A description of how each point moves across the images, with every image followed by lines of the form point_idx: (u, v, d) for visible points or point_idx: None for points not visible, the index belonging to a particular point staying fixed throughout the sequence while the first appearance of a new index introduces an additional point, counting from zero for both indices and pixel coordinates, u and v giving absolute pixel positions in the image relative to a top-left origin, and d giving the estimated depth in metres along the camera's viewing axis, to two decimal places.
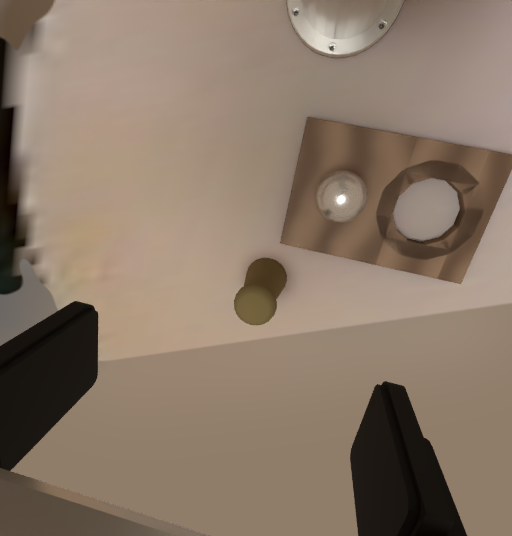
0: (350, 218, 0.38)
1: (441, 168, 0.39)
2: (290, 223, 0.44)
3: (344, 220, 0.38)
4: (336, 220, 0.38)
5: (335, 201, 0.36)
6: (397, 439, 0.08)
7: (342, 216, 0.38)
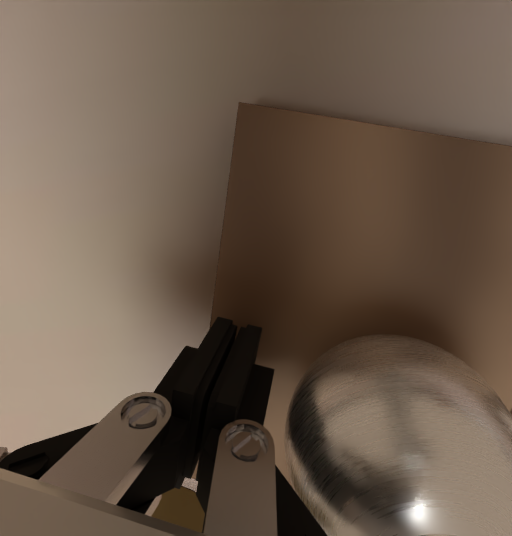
0: None
1: None
2: None
3: None
4: None
5: None
6: (230, 360, 0.09)
7: None
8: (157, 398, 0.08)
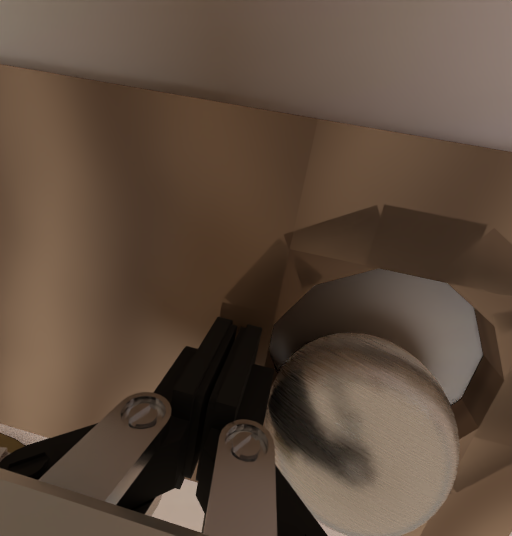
0: None
1: (413, 237, 0.10)
2: None
3: None
4: None
5: None
6: (230, 360, 0.09)
7: None
8: (157, 398, 0.08)
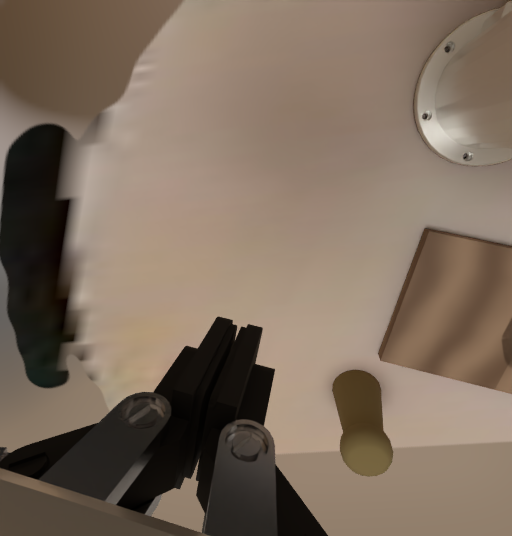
0: None
1: None
2: (395, 341, 0.38)
3: None
4: None
5: None
6: (230, 360, 0.09)
7: None
8: (157, 398, 0.08)
